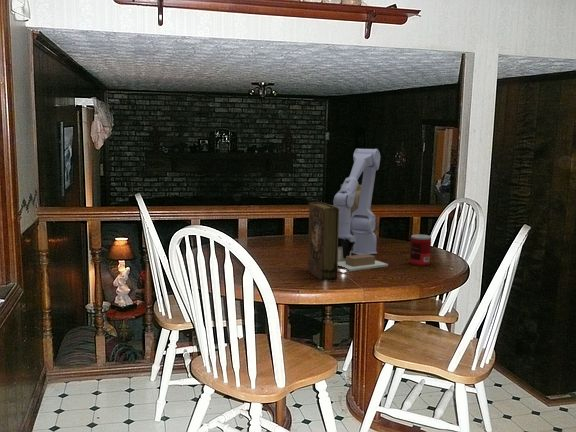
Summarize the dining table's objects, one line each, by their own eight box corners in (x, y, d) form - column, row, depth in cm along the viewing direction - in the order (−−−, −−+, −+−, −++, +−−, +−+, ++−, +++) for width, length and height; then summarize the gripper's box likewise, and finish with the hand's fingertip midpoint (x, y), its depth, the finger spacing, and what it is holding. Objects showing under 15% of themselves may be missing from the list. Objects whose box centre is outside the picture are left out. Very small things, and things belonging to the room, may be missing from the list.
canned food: (430, 262, 218) (432, 235, 216) (429, 266, 210) (430, 238, 209) (411, 260, 220) (412, 233, 219) (408, 265, 213) (409, 237, 211)
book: (306, 269, 203) (308, 202, 200) (320, 269, 205) (322, 202, 201) (322, 281, 188) (323, 208, 184) (337, 280, 189) (339, 207, 186)
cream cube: (343, 258, 223) (344, 246, 223) (350, 260, 219) (351, 248, 218) (333, 259, 221) (333, 247, 220) (340, 262, 217) (340, 249, 216)
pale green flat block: (369, 260, 221) (369, 250, 220) (388, 266, 210) (388, 256, 210) (331, 264, 212) (331, 254, 212) (349, 271, 202) (349, 261, 201)
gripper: (324, 221, 222) (323, 254, 224) (345, 226, 210) (344, 261, 212) (339, 220, 226) (338, 252, 227) (360, 225, 213) (359, 259, 215)
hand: (342, 256), depth 220 cm, fingers closed on cream cube, 5 cm apart
